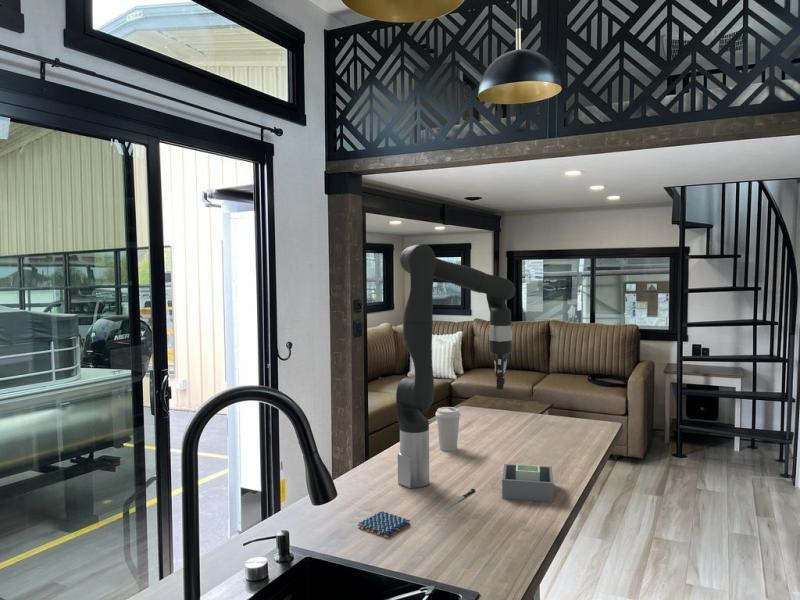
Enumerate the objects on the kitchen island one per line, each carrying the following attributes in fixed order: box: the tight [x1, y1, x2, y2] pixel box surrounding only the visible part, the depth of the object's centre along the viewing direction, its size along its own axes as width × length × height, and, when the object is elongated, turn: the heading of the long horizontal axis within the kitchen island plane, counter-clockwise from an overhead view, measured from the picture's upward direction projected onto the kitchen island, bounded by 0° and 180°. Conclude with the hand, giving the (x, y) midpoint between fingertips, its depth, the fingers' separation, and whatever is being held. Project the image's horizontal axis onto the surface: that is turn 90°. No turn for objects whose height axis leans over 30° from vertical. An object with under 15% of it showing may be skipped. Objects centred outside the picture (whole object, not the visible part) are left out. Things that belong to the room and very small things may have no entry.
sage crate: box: [515, 463, 541, 482], centre depth 176 cm, size 6×7×6 cm
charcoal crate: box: [501, 463, 554, 503], centre depth 176 cm, size 15×15×6 cm
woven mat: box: [357, 510, 411, 539], centre depth 152 cm, size 10×11×2 cm
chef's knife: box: [443, 488, 476, 512], centre depth 170 cm, size 19×1×3 cm
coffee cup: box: [435, 406, 462, 452], centre depth 218 cm, size 10×10×15 cm
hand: (500, 386), depth 194 cm, fingers open, 8 cm apart
